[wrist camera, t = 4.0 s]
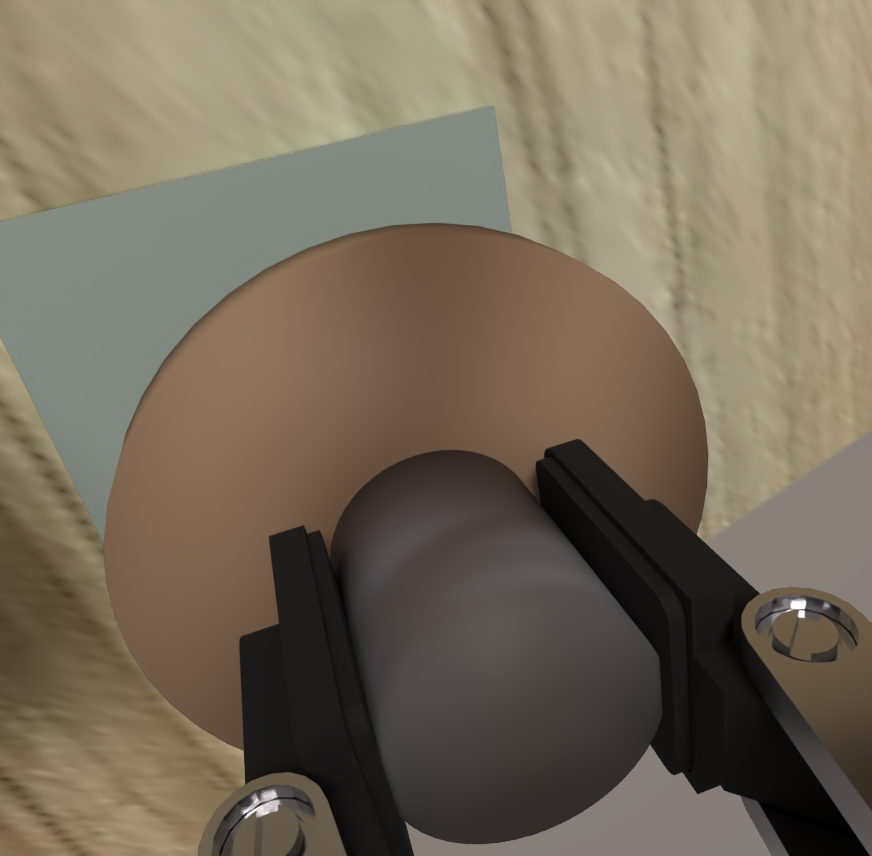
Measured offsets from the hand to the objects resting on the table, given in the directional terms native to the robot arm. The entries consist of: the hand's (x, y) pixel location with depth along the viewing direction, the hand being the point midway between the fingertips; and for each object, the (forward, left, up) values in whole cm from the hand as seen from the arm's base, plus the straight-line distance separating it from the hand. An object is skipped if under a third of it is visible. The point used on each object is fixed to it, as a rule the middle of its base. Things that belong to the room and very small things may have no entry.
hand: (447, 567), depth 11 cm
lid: (0, 0, -2) cm, 2 cm away
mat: (+1, 0, -8) cm, 8 cm away
